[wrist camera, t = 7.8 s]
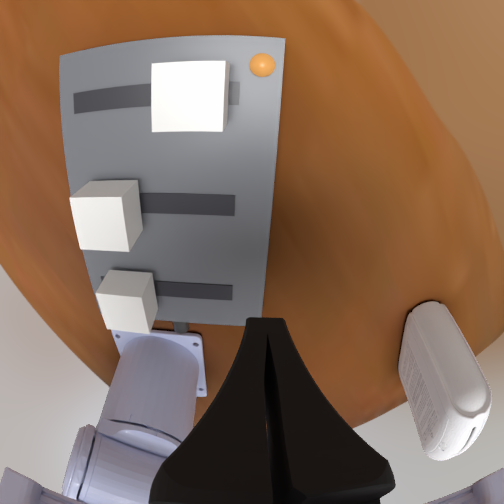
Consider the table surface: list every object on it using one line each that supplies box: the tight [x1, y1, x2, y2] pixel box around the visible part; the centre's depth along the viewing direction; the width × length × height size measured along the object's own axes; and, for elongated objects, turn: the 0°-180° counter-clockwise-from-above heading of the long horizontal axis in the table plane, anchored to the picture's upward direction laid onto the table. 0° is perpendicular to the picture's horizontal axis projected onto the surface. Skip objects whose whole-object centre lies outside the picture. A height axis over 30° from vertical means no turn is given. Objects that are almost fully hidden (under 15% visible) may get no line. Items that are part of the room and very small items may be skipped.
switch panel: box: [59, 35, 285, 334], centre depth 18 cm, size 20×12×2 cm, turn 177°
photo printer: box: [398, 301, 492, 461], centre depth 21 cm, size 10×4×12 cm, turn 14°
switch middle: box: [70, 180, 143, 252], centre depth 15 cm, size 3×3×2 cm
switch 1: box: [96, 270, 158, 334], centre depth 18 cm, size 3×3×2 cm
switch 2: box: [151, 61, 230, 132], centre depth 12 cm, size 3×3×2 cm
